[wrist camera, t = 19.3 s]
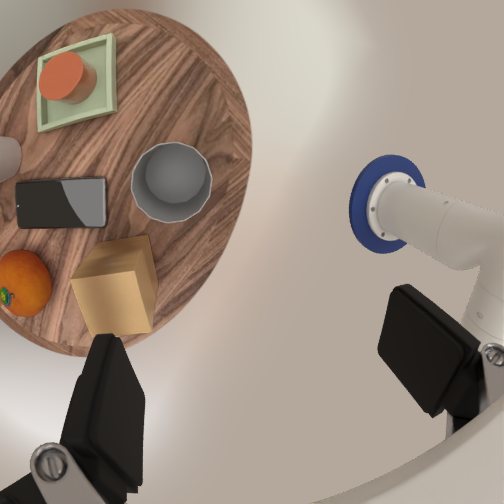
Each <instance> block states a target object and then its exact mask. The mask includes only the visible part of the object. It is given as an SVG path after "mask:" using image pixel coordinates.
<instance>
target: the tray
mask: <svg viewBox="0 0 504 504" xmlns="http://www.w3.org/2000/svg"><path fill="white" fill-rule="evenodd" d="M62 52H74V53H76V54H78V55H79V56H80V57H82V58H83V59H84V60H86V61H87V62H88V63H89V64H91V65H92V66H93V67H94V68H95V70H96V73H97V83H96V86H95V88H94V90H93V92H92V93H91V95H90V96H89V97H88V98H87V99H86V100H84V101H83V102H81V103H79V104H76V105H67V104H63V103H59V102H56V101H52V100H48V99H46V98H44V97H43V96H42V94H41V93H40V90H39V77H40V74H41V72H42V70H43V68H44V66H45V65H46V64H47V62H48V61H49V60H50V59H51V58H53V57H54V56H56V55H57V54H60V53H62ZM113 113H117V94H116V38H115V36H114V35H113V33H110V34H106V35H102V36H99V37H95V38H92V39H88V40H85V41H82V42H79V43H76V44H73V45H70V46H67V47H64V48H61V49H59V50H56V51H53V52H51V53H48V54H46V55H44V56H41V57H39V58H38V70H37V126H38V132H49V131H52V130H55V129H58V128H61V127H64V126H68V125H71V124H74V123H78V122H81V121H85V120H89V119H93V118H97V117H101V116H105V115H109V114H113Z"/></svg>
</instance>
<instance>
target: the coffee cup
mask: <svg viewBox="0 0 504 504" xmlns="http://www.w3.org/2000/svg"><path fill="white" fill-rule="evenodd" d="M21 160H22V151H21V147H20V145H19V143H18V141H17V140H16V139H14V138H11V137H1V136H0V183H1V182H3V181H5V180H7V179H9V178H11V177H13V176H14V175H15V174H16V173H17V171H18V170H19V167H20V164H21Z"/></svg>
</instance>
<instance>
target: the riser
mask: <svg viewBox="0 0 504 504" xmlns="http://www.w3.org/2000/svg"><path fill="white" fill-rule="evenodd" d="M70 282H71V285H72V288H73V291H74V294H75V296H76V299H77V302H78V305H79V307H80V310H81V312H82V315H83V317H84V320H85V322H86V325H87V327H88V330H89V332H90V334H91V337H92V338H93V337H95V335H96V334H106V333H113V334H114V335H115V336H118V335H128V334H138V333H148V332H152V326H153V318H154V311H155V304H156V297H157V291H158V279H157V275H156V270H155V266H154V261H153V256H152V251H151V246H150V241H149V235H142V236H136V237H129V238H123V239H117V240H111V241H105V242H98V243H97V244H96V246H95V247H94V248H93V249H92V251H91V252H90V253H89V255H88V256H87V257H86V259H85V260H84V261H83V262H82V264H81V265H80V266H79V268H78V269H77V270H76V272H75V273H74V275H73V276H72V277H71V279H70Z"/></svg>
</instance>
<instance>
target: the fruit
mask: <svg viewBox="0 0 504 504" xmlns="http://www.w3.org/2000/svg"><path fill="white" fill-rule="evenodd" d="M51 292H52V285H51V278H50V275H49V272H48V270H47V268H46V266H45V264H44V263H43V262H42V261H41V260H40V259H39V258H38V257H37V256H36V255H35V254H34V253H32V252H30V251H27V250H13V251H10V252H8V253H6V254H5V255H4V256H3V257H2V258H1V260H0V301H1V302H2V303H3V305H4V306H5V307H6V308H7V309H8V310H9V311H10V312H12V313H13V314H15V315H18V316H23V317H31V316H34V315H36V314H38V313H39V312H40V311H41V310H42V309H43V308H44V306H45V305H46V304H47V302H48V301H49V299H50V297H51Z"/></svg>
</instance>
